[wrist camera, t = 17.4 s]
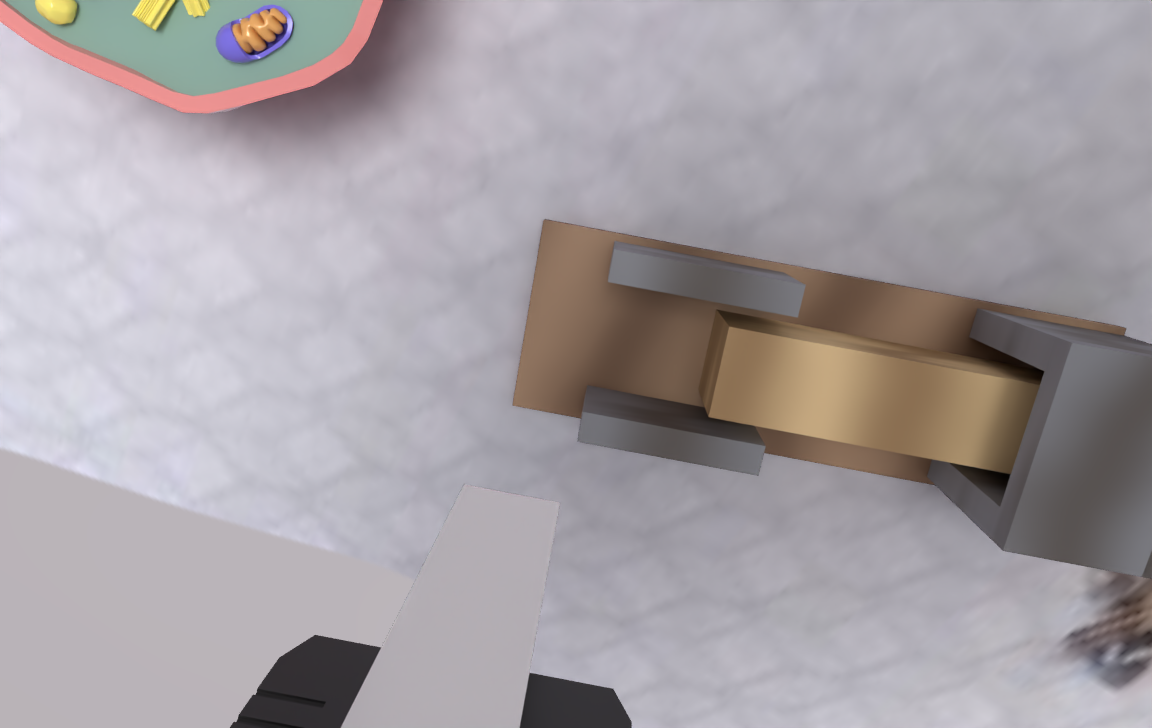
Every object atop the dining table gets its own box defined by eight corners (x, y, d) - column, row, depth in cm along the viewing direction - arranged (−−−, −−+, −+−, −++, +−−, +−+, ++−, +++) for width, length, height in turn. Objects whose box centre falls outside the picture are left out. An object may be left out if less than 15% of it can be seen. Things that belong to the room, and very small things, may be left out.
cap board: (1117, 325, 33) (1260, 368, 26) (1056, 503, 35) (1173, 591, 28) (544, 219, 33) (523, 231, 26) (514, 401, 35) (486, 461, 28)
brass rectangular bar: (1051, 372, 33) (1108, 397, 29) (1025, 451, 34) (1077, 486, 30) (716, 309, 33) (729, 326, 29) (698, 389, 34) (708, 417, 30)
